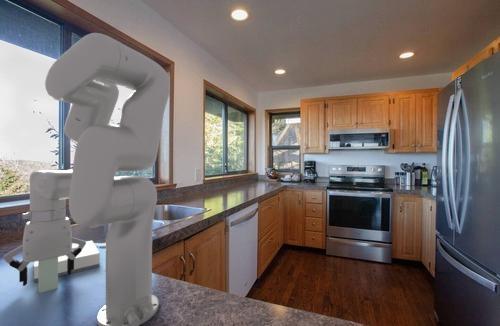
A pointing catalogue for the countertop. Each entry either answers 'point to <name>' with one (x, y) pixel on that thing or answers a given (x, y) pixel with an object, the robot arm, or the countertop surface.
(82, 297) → the countertop surface
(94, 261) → the block
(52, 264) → the pale green block
